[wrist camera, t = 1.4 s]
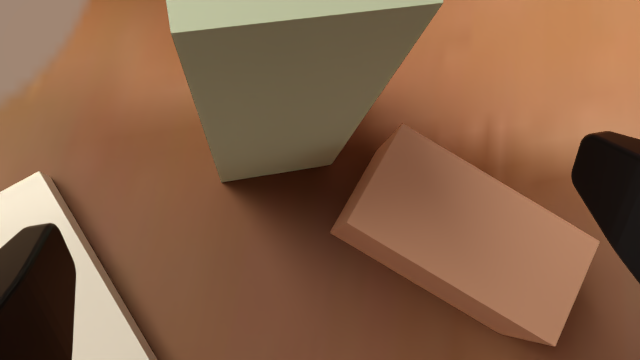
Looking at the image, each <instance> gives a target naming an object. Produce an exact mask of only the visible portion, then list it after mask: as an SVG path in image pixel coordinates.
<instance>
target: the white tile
mask: <svg viewBox="0 0 640 360" xmlns="http://www.w3.org/2000/svg"><path fill="white" fill-rule="evenodd" d="M45 223H53V224H55V225H56V226H57V227H58V228H59V230H60V231H61V234H62V236H63V238H64V240H65V243H66V245H67V247H68V249H69V251H70V254H71V256H72V258H73V261H74V264H75V268H76V291H75V311H74V331H73V351H72V360H157V358H156V357H155V355H154V353H153V352H152V350H151V348H150V346H149V345H148V343H147V341H146V340H145V338H144V336H143V334H142V333H141V331H140V329H139V328H138V326H137V324H136V322H135V321H134V319H133V317H132V316H131V314H130V312H129V311H128V309H127V307H126V305H125V304H124V302H123V300H122V299H121V297H120V295H119V293H118V292H117V290H116V288H115V287H114V285H113V283H112V281H111V280H110V278H109V276H108V275H107V273H106V271H105V270H104V268H103V266H102V264H101V263H100V261H99V259H98V258H97V256H96V254H95V252H94V251H93V249H92V247H91V246H90V244H89V242H88V240H87V239H86V237H85V235H84V234H83V232H82V230H81V229H80V227H79V225H78V223H77V222H76V220H75V218H74V217H73V215H72V213H71V211H70V210H69V208H68V206H67V205H66V203H65V201H64V199H63V198H62V196H61V194H60V193H59V191H58V189H57V188H56V186H55V184H54V182H53V181H52V179H51V177H50V176H48V175H46V174H44V173H42V172H40V171H39V172H37V173H35V174H33V175H31V176H29V177H27V178H26V179H24V180H22V181H20V182H18V183H16V184H14V185H13V186H11V187H9V188H7V189H5V190H3V191H1V192H0V248H1V247H2V246H3V245H4V244H6V243H7V242H8V241H9V240H10V239H11V238H12V237H14V236H15V235H16V234H17V233H18V232H19V231H21V230H22V229H23V228H25V227H28V226H33V225H39V224H45Z"/></svg>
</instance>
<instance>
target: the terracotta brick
mask: <svg viewBox="0 0 640 360" xmlns="http://www.w3.org/2000/svg"><path fill="white" fill-rule="evenodd" d="M330 233H331V234H332V235H334V236H336V237H337V238H339V239H341V240H343V241H344V242H346V243H348V244H349V245H351V246H353V247H354V248H356V249H358V250H359V251H361V252H363V253H364V254H366V255H368V256H369V257H371V258H373V259H374V260H376V261H378V262H380V263H381V264H383V265H385V266H386V267H388V268H390V269H391V270H393V271H395V272H396V273H398V274H400V275H401V276H403V277H405V278H406V279H408V280H410V281H411V282H413V283H415V284H417V285H418V286H420V287H422V288H423V289H425V290H427V291H428V292H430V293H432V294H433V295H435V296H437V297H438V298H440V299H442V300H443V301H445V302H447V303H448V304H450V305H452V306H454V307H455V308H457V309H459V310H460V311H462V312H464V313H465V314H467V315H469V316H470V317H472V318H474V319H475V320H477V321H479V322H480V323H482V324H484V325H485V326H487V327H489V328H491V329H492V330H494V331H496V332H497V333H499V334H502V335H506V336H511V337H515V338H519V339H524V340H528V341H532V342H537V343H541V344H546V345H550V346H554V347H555V346H556V344H557V341H558V339H559V337H560V334H561V332H562V330H563V327H564V325H565V323H566V320H567V318H568V315H569V313H570V311H571V308H572V306H573V304H574V301H575V299H576V297H577V294H578V292H579V290H580V287H581V285H582V283H583V280H584V278H585V275H586V273H587V271H588V268H589V266H590V264H591V261H592V259H593V257H594V254H595V252H596V250H597V247H598V245H599V243H600V241H598V240H597V239H595V238H593V237H592V236H590V235H588V234H587V233H585V232H583V231H582V230H580V229H578V228H577V227H575V226H573V225H572V224H570V223H568V222H567V221H565V220H563V219H562V218H560V217H558V216H557V215H555V214H553V213H552V212H550V211H548V210H547V209H545V208H543V207H542V206H540V205H538V204H537V203H535V202H533V201H532V200H530V199H528V198H527V197H525V196H523V195H522V194H520V193H518V192H517V191H515V190H513V189H512V188H510V187H508V186H507V185H505V184H503V183H502V182H500V181H498V180H496V179H495V178H493V177H491V176H490V175H488V174H486V173H485V172H483V171H481V170H480V169H478V168H476V167H475V166H473V165H471V164H470V163H468V162H466V161H465V160H463V159H461V158H460V157H458V156H456V155H455V154H453V153H451V152H450V151H448V150H446V149H445V148H443V147H441V146H440V145H438V144H436V143H435V142H433V141H431V140H430V139H428V138H426V137H425V136H423V135H421V134H420V133H418V132H416V131H415V130H413V129H411V128H410V127H408V126H406V125H405V124H403V123H402V124H401V125H400V127H399V128H398V129H397V130H396V131H395V132H394V133H393V134H392V135H391V136H390V137H389V138H388V139H387V140H386V141H385V142H384V143H383V144H382V145H381V146H380V147H379V148H378V149H377V150H376V152H375V154H374V156H373V157H372V159H371V161H370V163H369V164H368V166H367V168H366V170H365V171H364V173H363V175H362V177H361V178H360V180H359V182H358V184H357V185H356V187H355V189H354V191H353V192H352V194H351V196H350V198H349V199H348V201H347V203H346V205H345V206H344V208H343V210H342V212H341V213H340V215H339V217H338V219H337V220H336V222H335V224H334V226H333V228H332V229H331V231H330Z"/></svg>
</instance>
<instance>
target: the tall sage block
mask: <svg viewBox="0 0 640 360" xmlns="http://www.w3.org/2000/svg"><path fill="white" fill-rule="evenodd" d="M166 4H167V10H168V17H169V24H170V30H171V35H172V38H173V41H174V44H175V47H176V50H177V53H178V56H179V59H180V61H181V64H182V67H183V70H184V73H185V76H186V79H187V82H188V85H189V88H190V91H191V94H192V97H193V100H194V103H195V106H196V109H197V112H198V115H199V118H200V121H201V124H202V127H203V130H204V132H205V135H206V138H207V141H208V144H209V147H210V150H211V153H212V156H213V159H214V162H215V165H216V168H217V171H218V174H219V177H220V180H221V182H227V181H233V180H240V179H246V178H252V177H258V176H264V175H271V174H277V173H283V172H289V171H295V170H302V169H308V168H314V167H320V166H326V165H332V163H333V162H334V160H335V159H336V157H337V156H338V154H339V153H340V152H341V150H342V149H343V147H344V146H345V144H346V143H347V141H348V140H349V139H350V137H351V136H352V134H353V133H354V131H355V130H356V128H357V127H358V125H359V124H360V123H361V121H362V120H363V118H364V117H365V115H366V114H367V112H368V111H369V110H370V108H371V107H372V105H373V104H374V102H375V101H376V99H377V98H378V97H379V95H380V94H381V92H382V91H383V89H384V88H385V86H386V85H387V83H388V82H389V81H390V79H391V78H392V76H393V75H394V73H395V72H396V70H397V69H398V68H399V66H400V65H401V63H402V62H403V60H404V59H405V57H406V56H407V55H408V53H409V52H410V50H411V49H412V47H413V46H414V44H415V43H416V41H417V40H418V39H419V37H420V36H421V34H422V33H423V31H424V30H425V28H426V27H427V26H428V24H429V23H430V21H431V20H432V18H433V17H434V15H435V14H436V13H437V11H438V10H439V8H440V7H441V5H442V4H443V0H166Z"/></svg>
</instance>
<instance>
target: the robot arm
mask: <svg viewBox="0 0 640 360" xmlns="http://www.w3.org/2000/svg"><path fill="white" fill-rule="evenodd" d="M571 177H572V182H573V185H574V187H575V188H576V190H577V192H578V193H579V195H580V196H581V198H582V200H583V201H584V203H585V204H586V206H587V208H588V209H589V211H590V212H591V214H592V216H593V217H594V219H595V220H596V222H597V224H598V225H599V227H600V229H601V230H602V232H603V233H604V235H605V237H606V238H607V240H608V241H609V243H610V244H611V246H612V247H613V249H614V250H615V252H616V253H617V255H618V256H619V257H620V259H621V260H622V261H623V263H624V264H625V265H626V267H627V268H628V269H629V271H630V272H631V273H632V274H633V276H634V277H635V278H636V280H637V281H638V282H639V284H640V139H636V138H632V137H629V136H625V135H622V134H618V133H614V132H610V131H604V132H598V133H592V134H588V135H586V136H585V137H584V138H583V139H582V141H581V143H580V146H579V149H578V153H577V156H576V159H575V162H574V166H573V169H572V174H571ZM75 291H76V268H75V264H74V261H73V258H72V256H71V254H70V251H69V249H68V247H67V245H66V243H65V240H64V238H63V236H62V234H61V231H60V230H59V228H58V227H57V226H56V225H55V224H53V223H45V224H39V225H33V226H28V227H25V228H23V229H22V230H21V231H19V232H18V233H17V234H16V235H15V236H14V237H12V238H11V239H10V240H9V241H8V242H7V243H6V244H4V245H3V246H2V247H1V248H0V360H72V351H73V331H74V311H75Z"/></svg>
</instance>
